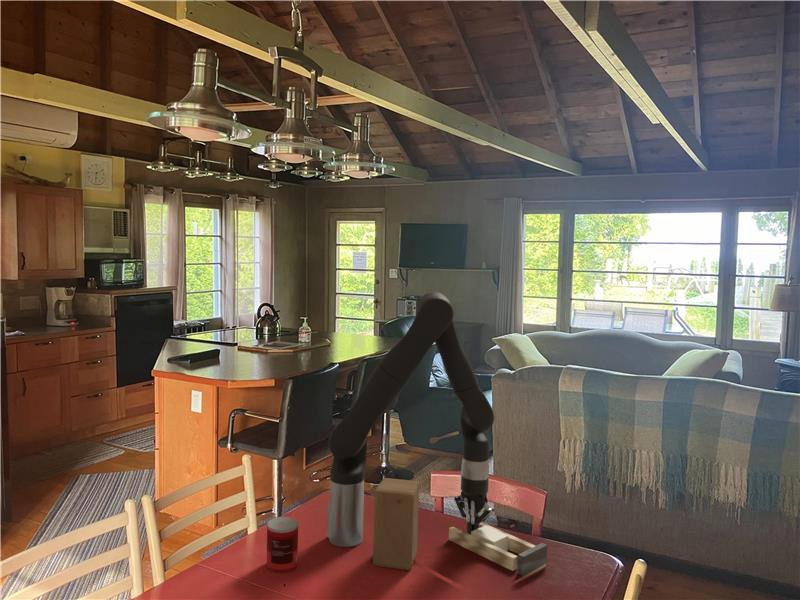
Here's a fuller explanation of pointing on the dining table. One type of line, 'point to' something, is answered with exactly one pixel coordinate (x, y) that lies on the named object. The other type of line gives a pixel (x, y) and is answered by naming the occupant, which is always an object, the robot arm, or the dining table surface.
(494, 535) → the off-white block
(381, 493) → the wooden block
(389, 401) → the robot arm
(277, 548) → the canned food
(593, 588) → the dining table surface
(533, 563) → the birch chute
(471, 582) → the dining table surface
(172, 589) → the dining table surface
